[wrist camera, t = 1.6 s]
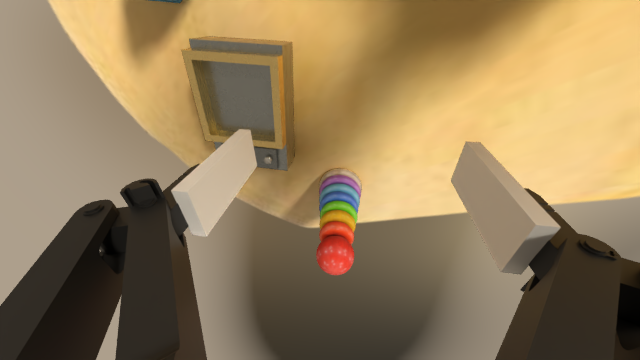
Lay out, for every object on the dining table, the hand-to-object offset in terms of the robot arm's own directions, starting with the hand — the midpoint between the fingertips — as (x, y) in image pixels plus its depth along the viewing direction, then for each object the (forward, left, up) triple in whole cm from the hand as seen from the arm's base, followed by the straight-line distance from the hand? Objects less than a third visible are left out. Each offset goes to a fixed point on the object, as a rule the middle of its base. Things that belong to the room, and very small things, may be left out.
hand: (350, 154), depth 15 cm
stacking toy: (+19, 0, -23) cm, 30 cm away
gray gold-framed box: (+5, -15, -23) cm, 28 cm away
